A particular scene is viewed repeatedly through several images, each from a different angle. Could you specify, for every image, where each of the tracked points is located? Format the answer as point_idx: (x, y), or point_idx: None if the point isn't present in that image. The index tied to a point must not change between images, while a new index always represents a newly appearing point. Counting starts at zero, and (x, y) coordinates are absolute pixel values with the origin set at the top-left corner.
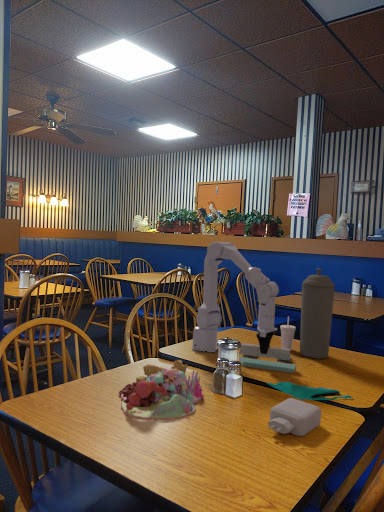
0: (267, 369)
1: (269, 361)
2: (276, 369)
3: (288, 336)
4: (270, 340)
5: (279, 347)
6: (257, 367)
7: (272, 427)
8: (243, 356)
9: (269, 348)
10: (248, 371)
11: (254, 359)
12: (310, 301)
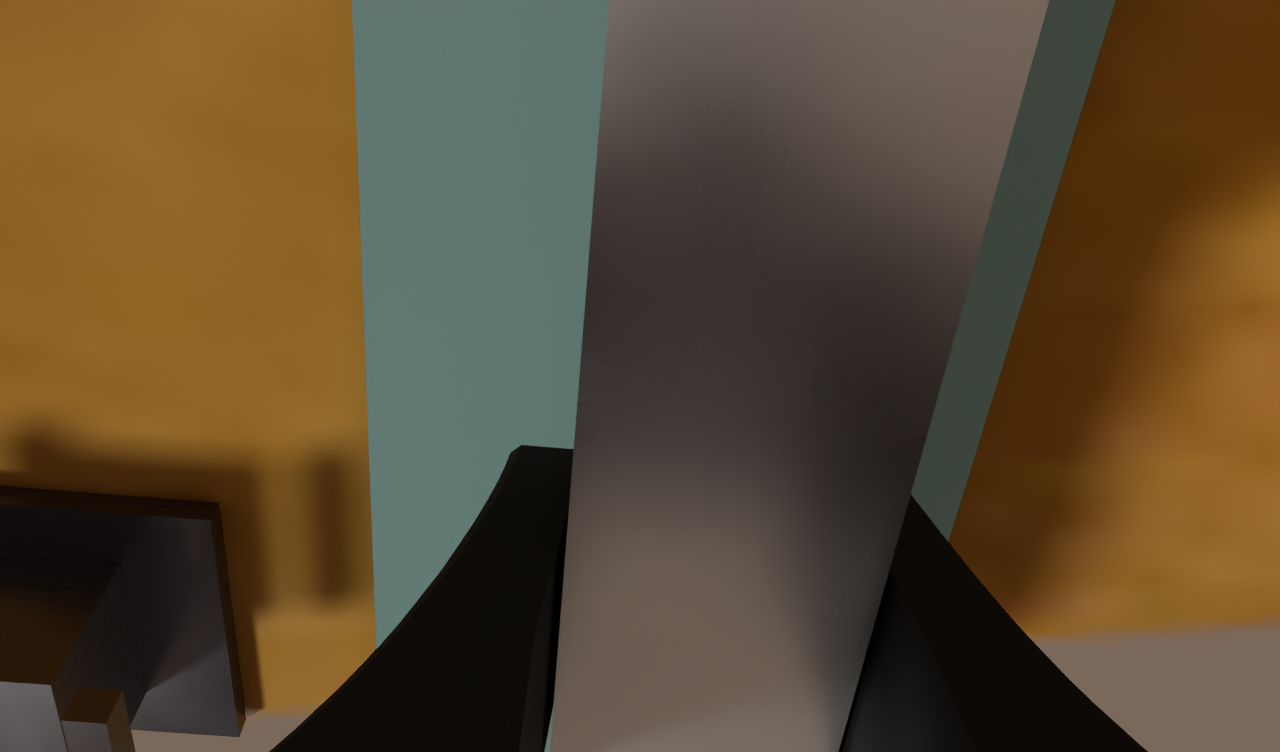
0: (1032, 226)
1: (395, 207)
2: (1090, 2)
3: None
4: (522, 719)
5: (611, 153)
6: (976, 446)
7: None
8: (242, 710)
9: (898, 534)
10: (1229, 574)
11: (408, 534)
12: None
